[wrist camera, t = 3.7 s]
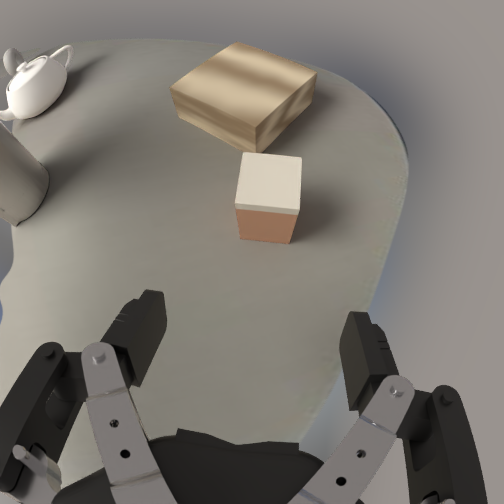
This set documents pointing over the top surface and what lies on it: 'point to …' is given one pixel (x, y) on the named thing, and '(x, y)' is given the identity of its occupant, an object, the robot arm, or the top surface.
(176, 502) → the robot arm
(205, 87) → the pine box
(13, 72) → the donut
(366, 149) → the top surface
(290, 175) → the cube
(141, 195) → the top surface
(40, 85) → the teapot
